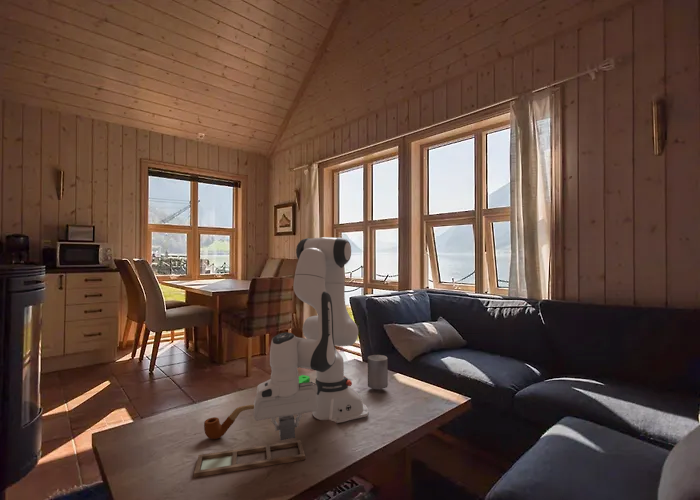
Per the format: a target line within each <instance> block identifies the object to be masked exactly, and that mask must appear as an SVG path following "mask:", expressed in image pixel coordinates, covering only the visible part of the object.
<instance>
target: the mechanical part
mask: <svg viewBox="0 0 700 500" xmlns="http://www.w3.org/2000/svg"><path fill="white" fill-rule="evenodd" d="M310 379H311V377H310V376H309V375H304V374H301V375H299V383H308V382H311V381H310Z"/></svg>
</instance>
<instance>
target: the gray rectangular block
mask: <svg viewBox="0 0 700 500" xmlns="http://www.w3.org/2000/svg"><path fill="white" fill-rule="evenodd" d="M294 416H295V415H289V416H282V417H278V423H279V424H280V430H278V431H279V440H280V441H284V440H289V439H295V438H296V429H295V428H296V427H295V424H294V420H295V417H294Z"/></svg>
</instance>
